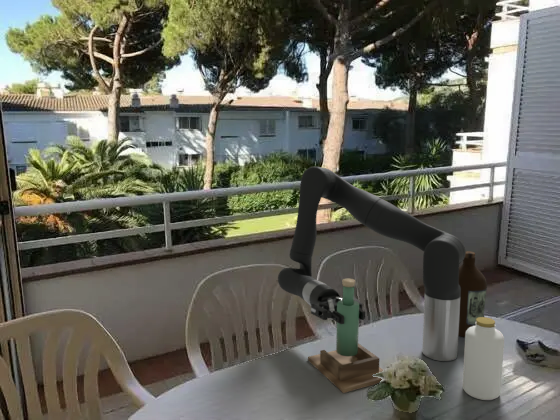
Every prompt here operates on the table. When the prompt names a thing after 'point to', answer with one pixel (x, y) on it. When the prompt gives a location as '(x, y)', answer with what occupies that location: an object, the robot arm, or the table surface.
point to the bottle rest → (348, 368)
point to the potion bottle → (483, 360)
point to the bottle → (348, 321)
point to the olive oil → (470, 293)
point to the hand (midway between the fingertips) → (353, 318)
